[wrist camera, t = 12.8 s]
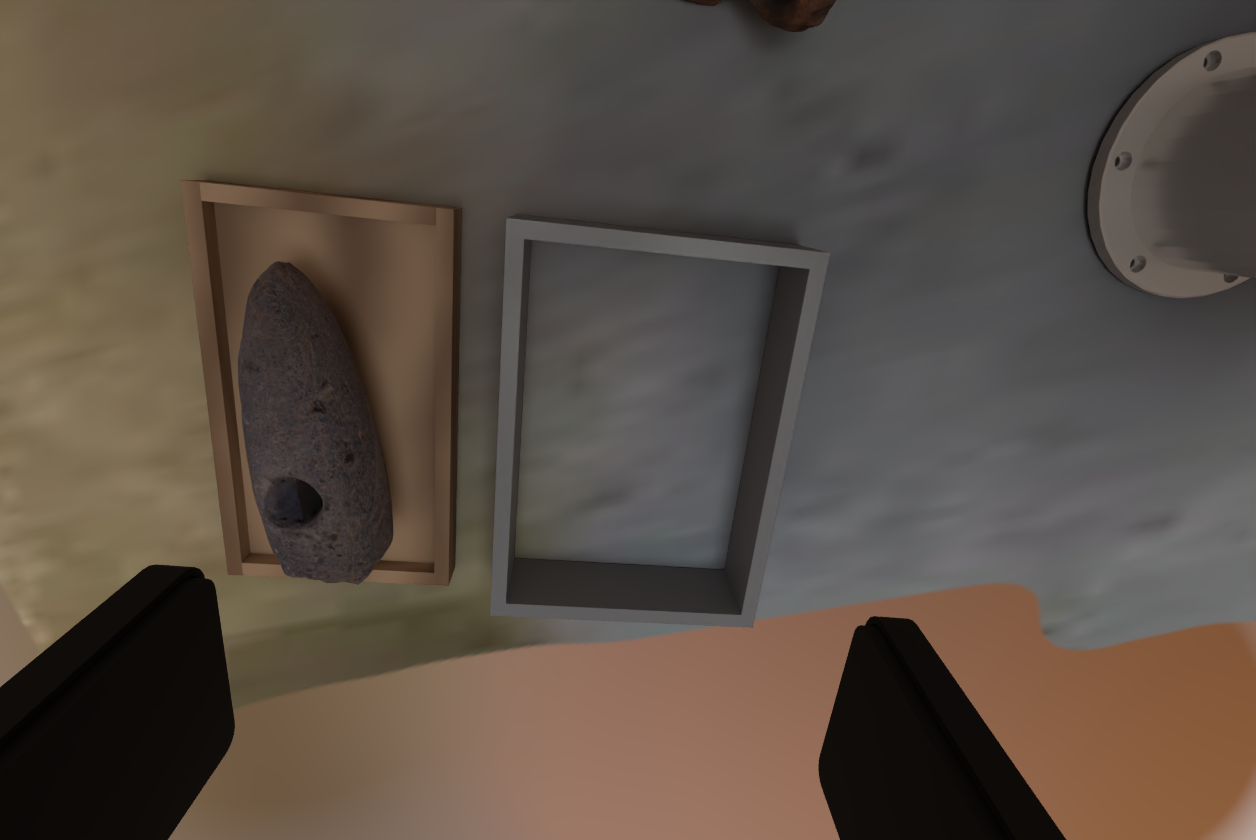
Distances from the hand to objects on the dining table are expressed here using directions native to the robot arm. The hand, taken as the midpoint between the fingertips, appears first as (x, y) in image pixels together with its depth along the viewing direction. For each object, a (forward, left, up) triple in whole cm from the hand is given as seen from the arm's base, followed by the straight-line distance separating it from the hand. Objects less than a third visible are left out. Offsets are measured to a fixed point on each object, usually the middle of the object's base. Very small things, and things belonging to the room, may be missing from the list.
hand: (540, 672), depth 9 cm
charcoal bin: (-4, +5, -26) cm, 27 cm away
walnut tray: (+12, +5, -26) cm, 29 cm away
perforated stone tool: (+12, +5, -25) cm, 28 cm away
